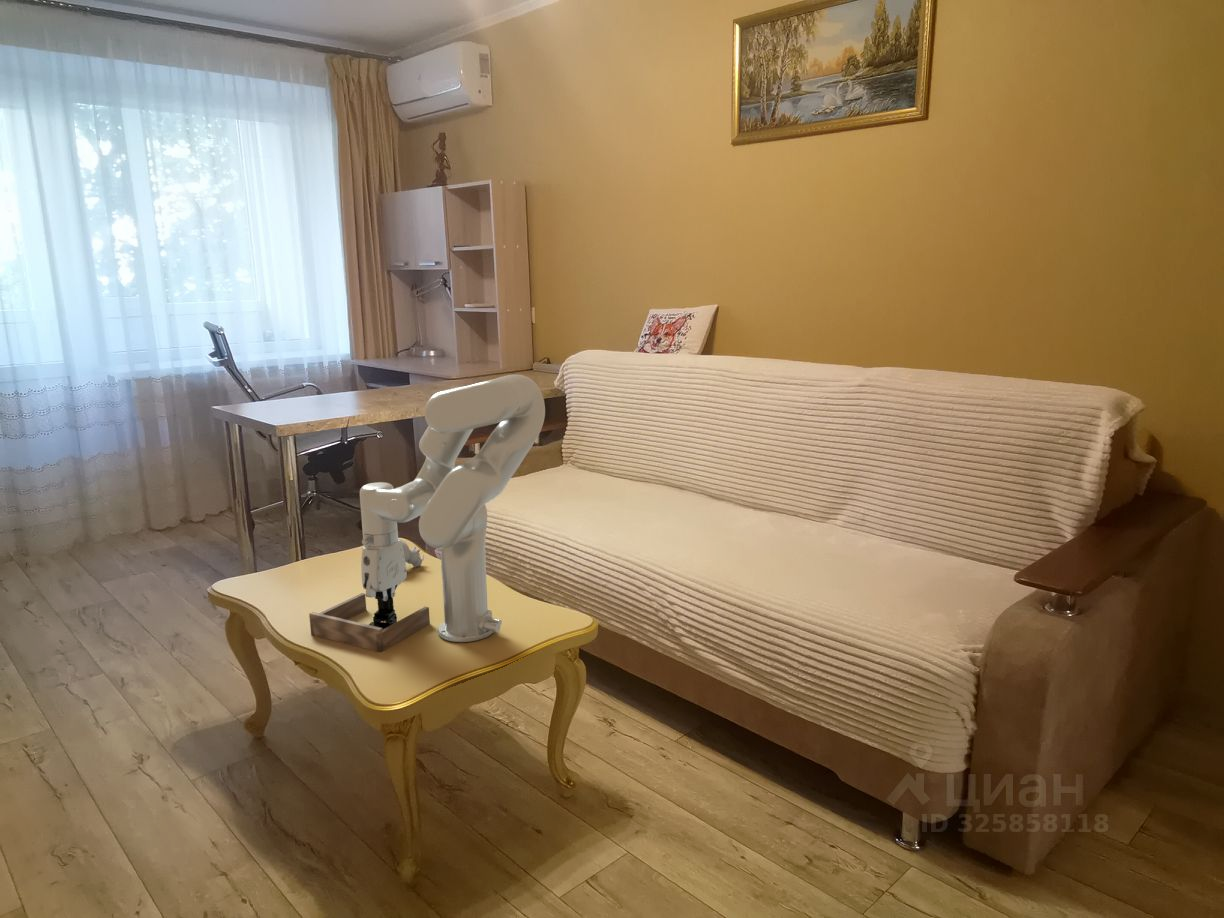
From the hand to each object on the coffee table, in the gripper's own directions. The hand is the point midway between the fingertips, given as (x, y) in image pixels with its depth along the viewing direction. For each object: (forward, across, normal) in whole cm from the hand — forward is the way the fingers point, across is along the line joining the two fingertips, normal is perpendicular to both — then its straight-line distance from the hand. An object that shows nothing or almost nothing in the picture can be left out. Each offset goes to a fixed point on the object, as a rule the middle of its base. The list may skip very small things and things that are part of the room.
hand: (386, 614), depth 184 cm
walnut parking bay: (+2, -4, 0) cm, 5 cm away
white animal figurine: (+2, +28, +20) cm, 34 cm away
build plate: (+2, -3, -2) cm, 5 cm away
